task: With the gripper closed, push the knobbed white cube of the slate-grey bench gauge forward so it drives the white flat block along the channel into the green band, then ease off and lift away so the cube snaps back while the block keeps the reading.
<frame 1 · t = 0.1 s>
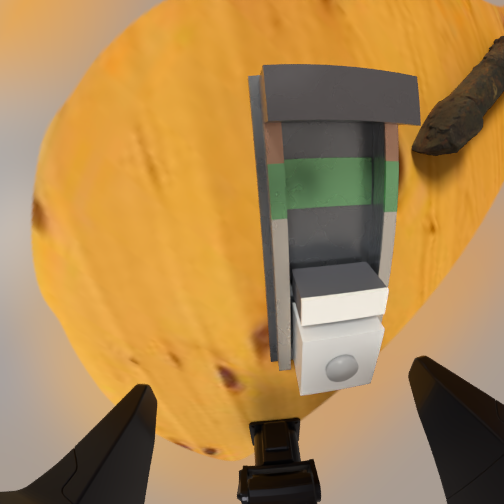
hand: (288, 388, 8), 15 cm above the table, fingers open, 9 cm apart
knobbed white cube: (334, 347, 21), point 4 cm above the table, slide at 0.0 cm
hand tool: (466, 95, 17), on the table
white flat block: (337, 291, 20), point 4 cm above the table, slide at 0.0 cm
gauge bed: (325, 233, 22), on the table
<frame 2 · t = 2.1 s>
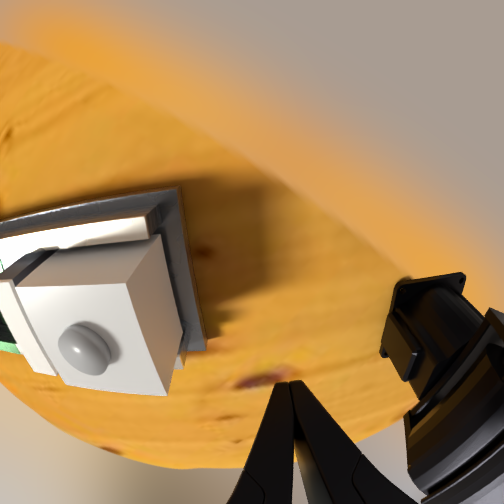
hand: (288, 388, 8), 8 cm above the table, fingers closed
knobbed white cube: (103, 318, 12), point 4 cm above the table, slide at 0.0 cm
white flat block: (39, 310, 13), point 4 cm above the table, slide at 0.0 cm
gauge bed: (38, 281, 16), on the table
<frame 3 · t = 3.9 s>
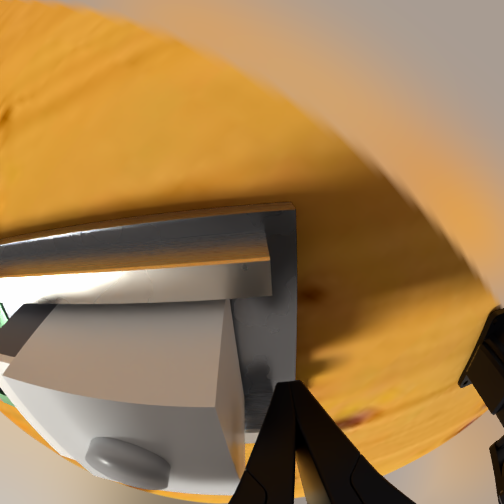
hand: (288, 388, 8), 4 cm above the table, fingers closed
knobbed white cube: (144, 405, 8), point 4 cm above the table, slide at 1.3 cm, touching gripper, white flat block
white flat block: (59, 381, 8), point 4 cm above the table, slide at 0.3 cm, touching knobbed white cube
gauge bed: (53, 325, 12), on the table
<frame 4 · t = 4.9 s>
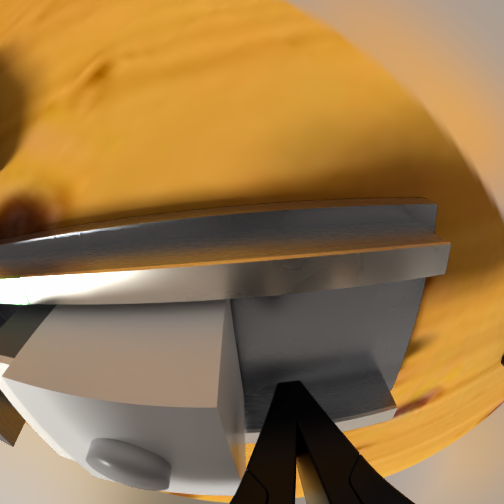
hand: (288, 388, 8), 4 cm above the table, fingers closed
knobbed white cube: (144, 406, 8), point 4 cm above the table, slide at 6.7 cm, touching gripper, white flat block
white flat block: (59, 382, 8), point 4 cm above the table, slide at 5.7 cm, touching knobbed white cube
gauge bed: (140, 329, 12), on the table
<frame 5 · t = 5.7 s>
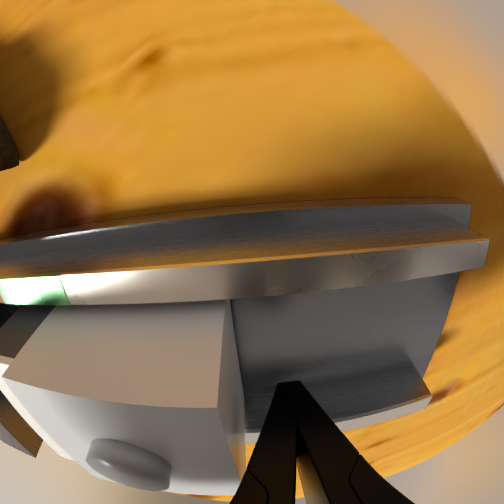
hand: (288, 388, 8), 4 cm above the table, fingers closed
knobbed white cube: (144, 406, 8), point 4 cm above the table, slide at 8.7 cm, touching gripper, white flat block
white flat block: (59, 382, 8), point 4 cm above the table, slide at 7.7 cm, touching knobbed white cube
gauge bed: (183, 328, 12), on the table
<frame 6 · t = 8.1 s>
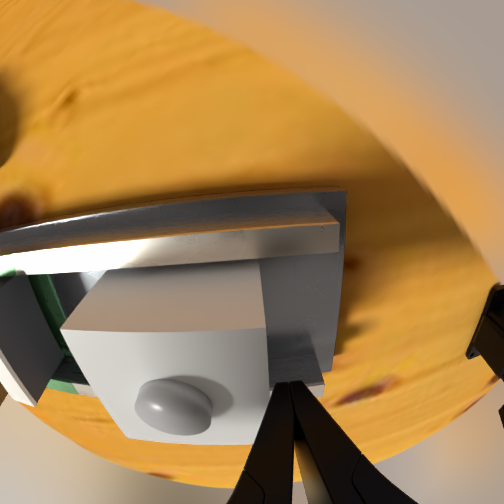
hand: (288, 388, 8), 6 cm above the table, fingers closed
knobbed white cube: (184, 359, 10), point 4 cm above the table, slide at 2.7 cm
white flat block: (14, 337, 10), point 4 cm above the table, slide at 7.7 cm
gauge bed: (104, 302, 14), on the table
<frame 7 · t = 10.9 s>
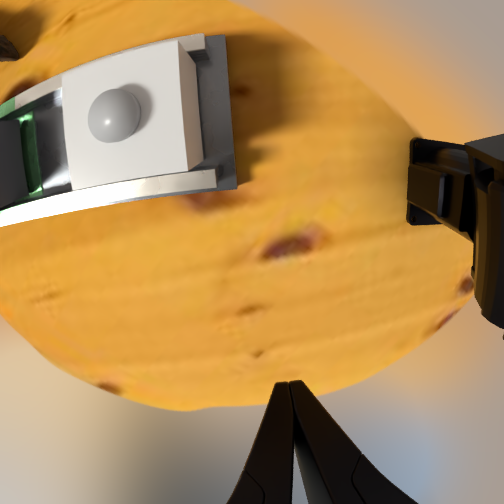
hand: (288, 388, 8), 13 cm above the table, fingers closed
knobbed white cube: (133, 117, 12), point 4 cm above the table, slide at 0.8 cm
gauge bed: (67, 142, 16), on the table
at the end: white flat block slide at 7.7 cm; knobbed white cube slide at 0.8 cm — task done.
